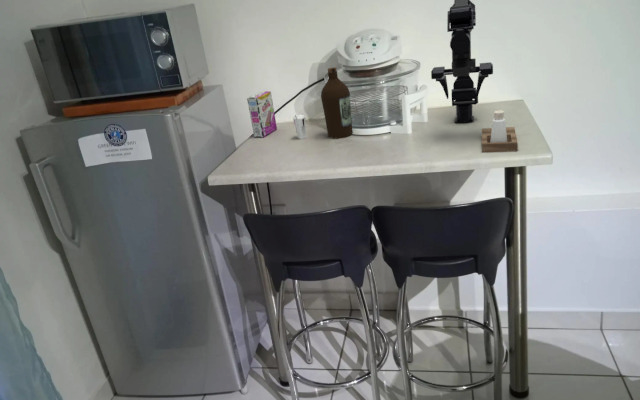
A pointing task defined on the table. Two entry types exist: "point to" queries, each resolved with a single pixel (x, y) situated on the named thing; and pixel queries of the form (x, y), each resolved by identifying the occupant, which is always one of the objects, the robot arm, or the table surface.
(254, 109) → the candy bar box
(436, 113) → the table surface
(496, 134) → the pepper shaker
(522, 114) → the table surface
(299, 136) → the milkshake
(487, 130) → the wooden tray
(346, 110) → the olive oil
